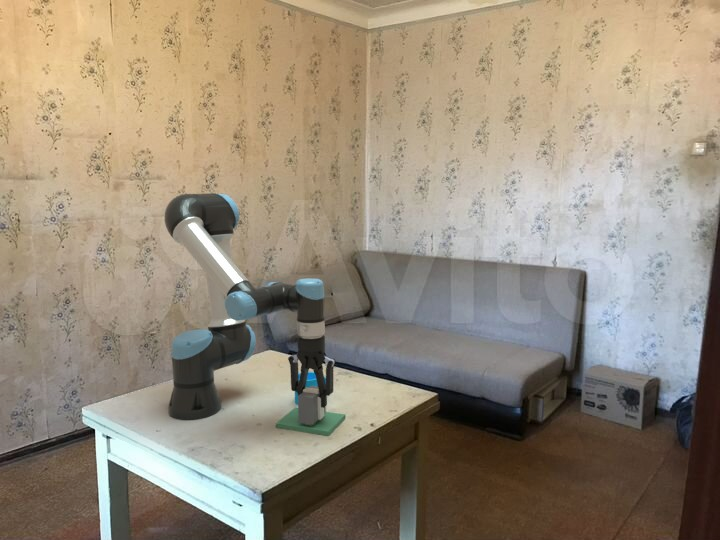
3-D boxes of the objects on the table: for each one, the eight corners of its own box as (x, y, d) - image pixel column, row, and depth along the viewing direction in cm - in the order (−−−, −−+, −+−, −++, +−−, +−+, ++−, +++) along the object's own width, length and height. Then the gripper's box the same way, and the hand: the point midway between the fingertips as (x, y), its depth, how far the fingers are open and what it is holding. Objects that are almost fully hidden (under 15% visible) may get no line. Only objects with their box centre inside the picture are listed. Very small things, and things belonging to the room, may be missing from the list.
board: (275, 427, 151) (275, 411, 150) (295, 411, 162) (295, 396, 161) (328, 435, 145) (328, 419, 145) (345, 418, 157) (345, 402, 156)
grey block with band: (298, 422, 149) (297, 393, 148) (311, 411, 157) (311, 383, 155) (313, 424, 147) (312, 395, 146) (325, 413, 155) (325, 385, 154)
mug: (305, 408, 164) (304, 382, 163) (289, 401, 170) (289, 376, 169) (335, 398, 172) (335, 373, 171) (320, 391, 178) (319, 367, 177)
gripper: (276, 336, 148) (278, 417, 152) (335, 341, 142) (336, 426, 146) (289, 329, 155) (291, 407, 159) (345, 334, 149) (346, 415, 153)
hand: (312, 416), depth 152 cm, fingers closed on grey block with band, 4 cm apart
